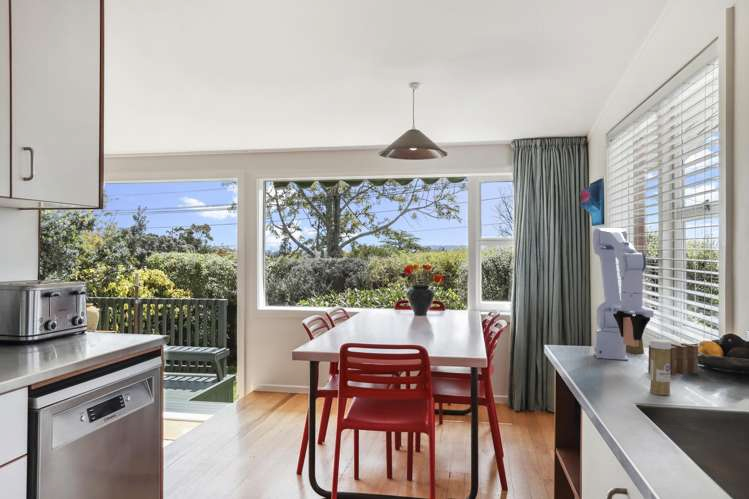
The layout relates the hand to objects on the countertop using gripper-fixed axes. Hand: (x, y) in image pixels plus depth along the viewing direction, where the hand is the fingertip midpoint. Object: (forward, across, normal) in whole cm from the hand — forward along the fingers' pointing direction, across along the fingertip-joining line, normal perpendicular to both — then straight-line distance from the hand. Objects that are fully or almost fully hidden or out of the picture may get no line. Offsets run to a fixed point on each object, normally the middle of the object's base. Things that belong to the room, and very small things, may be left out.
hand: (631, 338), depth 150 cm
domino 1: (+2, 0, 0) cm, 2 cm away
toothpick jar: (+10, +21, -11) cm, 26 cm away
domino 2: (+10, +5, +4) cm, 12 cm away
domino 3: (+10, +5, +8) cm, 14 cm away
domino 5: (+10, +5, +16) cm, 20 cm away
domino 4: (+10, +5, +12) cm, 16 cm away
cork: (+10, -21, +21) cm, 31 cm away
